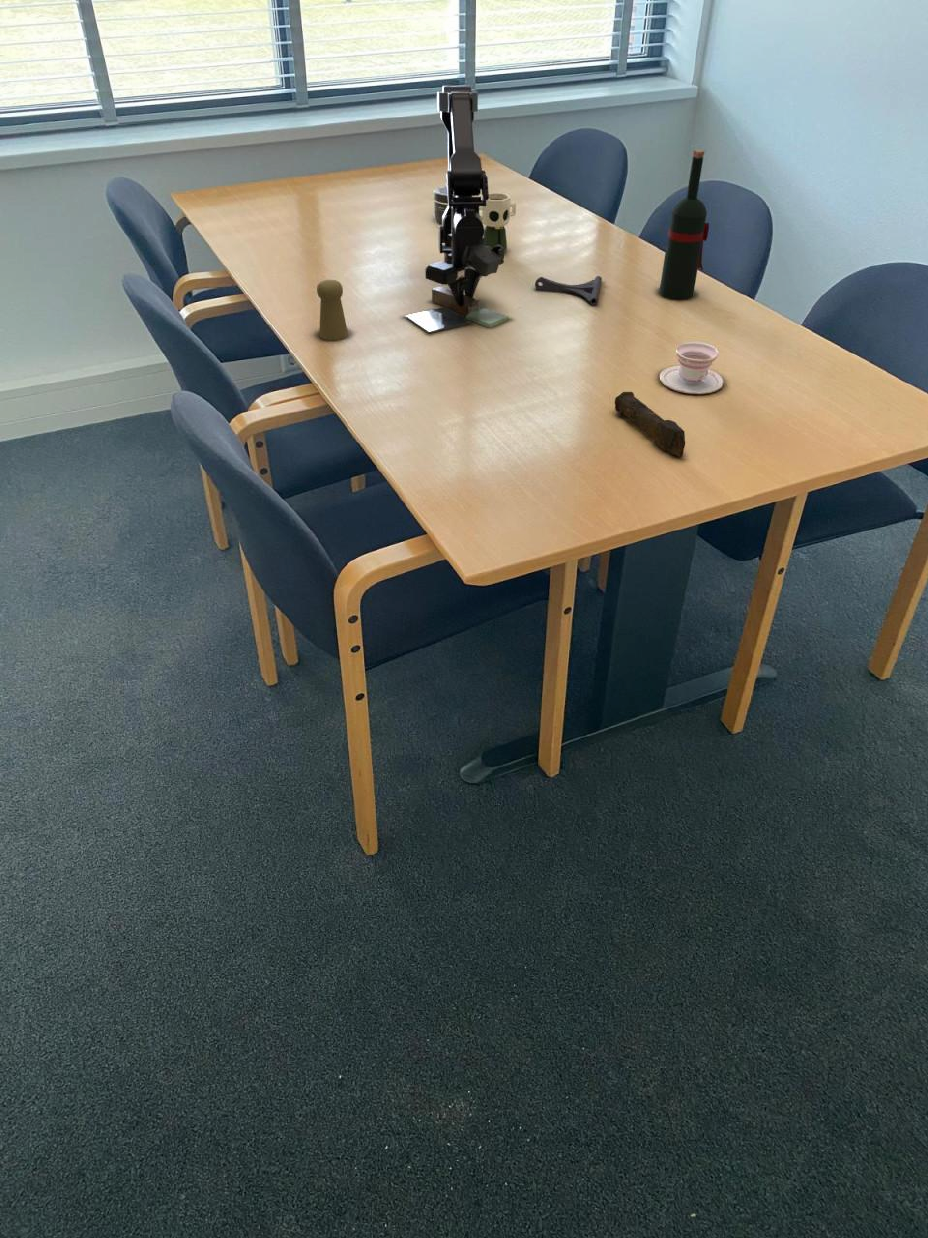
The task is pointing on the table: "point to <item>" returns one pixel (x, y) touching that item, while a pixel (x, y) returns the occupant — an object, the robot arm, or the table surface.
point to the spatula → (467, 308)
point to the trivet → (437, 320)
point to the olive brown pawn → (331, 311)
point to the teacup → (693, 370)
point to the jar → (440, 202)
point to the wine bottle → (685, 240)
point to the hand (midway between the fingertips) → (464, 304)
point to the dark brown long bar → (652, 423)
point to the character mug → (496, 219)
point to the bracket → (573, 288)
